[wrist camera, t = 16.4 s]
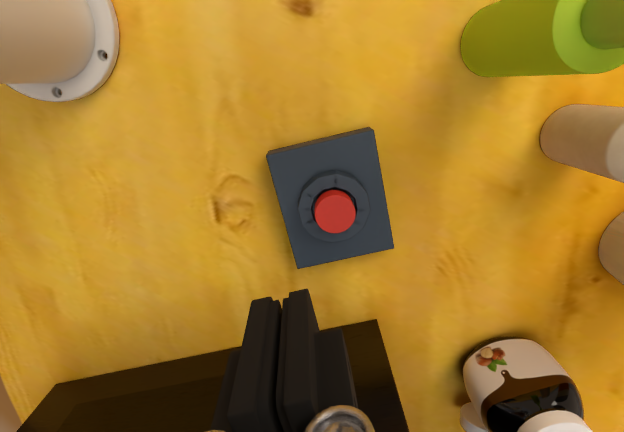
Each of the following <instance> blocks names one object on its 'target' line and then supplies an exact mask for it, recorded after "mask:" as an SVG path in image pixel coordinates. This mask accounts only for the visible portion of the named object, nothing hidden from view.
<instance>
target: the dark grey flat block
mask: <svg viewBox="0 0 624 432" xmlns="http://www.w3.org/2000/svg"><path fill="white" fill-rule="evenodd" d="M266 158H267V162H268V165H269V169H270V172H271V176H272V179H273V183H274V187H275V190H276V194H277V197H278V201H279V204H280V208H281V212H282V215H283V219H284V222H285V226H286V229H287V233H288V236H289V240H290V244H291V247H292V251H293V254H294V258H295V261H296V265H297V268H298V269H300V268H305V267H309V266H314V265H319V264H323V263H328V262H333V261H337V260H342V259H346V258H351V257H356V256H360V255H365V254H370V253H374V252H379V251H384V250H388V249H393V248H394V244H393V238H392V232H391V226H390V221H389V215H388V209H387V204H386V198H385V192H384V186H383V181H382V175H381V169H380V163H379V158H378V152H377V146H376V141H375V135H374V130H373V129H371V128H370V127H366V128H362V129H358V130H354V131H350V132H345V133H341V134H337V135H333V136H329V137H325V138H320V139H316V140H312V141H308V142H304V143H300V144H295V145H291V146H287V147H283V148H279V149H275V150H270V151H268V153H267V155H266ZM329 190H340V191H343V192H345V193H346V194H347V195H348V196H349V197H350V198H351V200H352V202H353V205H354V207H355V212H356V215H355V220H354V222H353V224H352V225H351V226H350V227H349V228H348V229H347V230H345V231H343V232H340V233H329V232H326V231H324V230H323V229H321V228H320V227H319V225H318V224H317V222H316V219H315V203H316V201H317V199H318V198H319V196H320V195H321V194H323V193H324V192H326V191H329Z"/></svg>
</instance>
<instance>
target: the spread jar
mask: <svg viewBox="0 0 624 432" xmlns="http://www.w3.org/2000/svg"><path fill="white" fill-rule="evenodd" d="M463 379H464V384H465V387H466V390H467V393H468V396H469V398H470V400H471V402H470V403H466V404H464V405H463V406H462V407H461V409H460V424H461V426H462V427H463V429H464V430H465V431H466V432H592V431H591V429H590V428H589V427H588V426H587V424H586V423H585V422H584V408H583V403H582V399H581V396H580V394H579V391H578V389H577V387H576V385H575V384H574V382H573V380H572V379H571V378H570V376H569V375H568V373H567V372H566V371H565V370H564V369H563V367H562V366H561V365H560V364H559V363H558V362H557V361H556V360H555V359H554V357H553V356H552V355H551V354H550V353H549V352H548V351H547V350H546V349H544V348H543V347H542V346H541V345H539V344H538V343H536V342H534V341H532V340H529V339H525V338H520V337H497V338H493V339H490V340H487V341H485V342H483V343H481V344H480V345H478V346H477V347H476V348H475V349H474V350H473V351H472V352H471V353H470V354H469V355H468V357H467V359H466V360H465V363H464V367H463Z"/></svg>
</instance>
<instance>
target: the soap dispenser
mask: <svg viewBox="0 0 624 432" xmlns="http://www.w3.org/2000/svg"><path fill="white" fill-rule="evenodd" d="M460 48H461V55H462V59H463V61H464V63H465V65H466V66H467V67H468V68H469V69H470V70H471V71H472V72H473V73H475V74H477V75H479V76H483V77H504V76H537V75H570V74H597V73H603V72H607V71H610V70H612V69H615V68H617V67H619V66H621V65H622V64H624V0H501V1H498V2H496V3H494V4H491V5H489V6H487V7H484V8H483V9H481V10H479V11H478V12H477V13H476V14H475V15H474V16H473V17H472V18H471V19H470V20H469V22H468V23H467V25H466V27H465V29H464V31H463V34H462V37H461V45H460Z"/></svg>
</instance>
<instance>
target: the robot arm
mask: <svg viewBox="0 0 624 432" xmlns="http://www.w3.org/2000/svg"><path fill="white" fill-rule="evenodd" d="M118 51H119V28H118V20H117V17H116V13H115V10H114V7H113V4H112V2H111V0H0V84H6V85H8V86H9V87H11V88H12V89H14V90H15V91H17V92H20V93H22V94H24V95H26V96H28V97H31V98H35V99H38V100H42V101H51V102H64V101H72V100H76V99H81V98H83V97H85V96H87V95H90V94H92V93H93V92H94V91H96V90H97V89H98V88H100V87H101V86H102V85H103V84H104V82H105V81H106V80H107V79H108V77H109V76H110V74H111V72H112V70H113V68H114V66H115V64H116V60H117V56H118ZM106 53H107V58H106V57H105V54H106ZM61 92H62V94H61ZM206 432H375V430H374V428H373V425H372V423H371V422H370V420H369V418H368V417H367V415H366V414H364V413H363V412H362V411H361V410H360V409H358V405H357V399H356V393H355V388H354V382H353V376H352V371H351V366H350V362H349V357H348V353H347V348H346V344H345V340H344V336H343V332H342V329H341V328H338V329H333V330H328V331H324V332H320V331H319V327H318V324H317V320H316V316H315V313H314V309H313V305H312V301H311V298H310V294H309V291H308V289H303V290H299V291H294V292H290V293H289V298H285V299H283V307H282V308H281V305H280V302H279V300H275V301H273V299H272V298H271V297H266V298H261V299H257V300H253V301H252V302H251V306H250V311H249V316H248V320H247V325H246V329H245V334H244V339H243V343H242V348H241V349H237V350H233V351H231V352H230V355H229V358H228V362H227V366H226V370H225V374H224V377H223V381H222V385H221V389H220V393H219V397H218V401H217V405H216V409H215V413H214V417H213V421H212V424H211V428H210V431H206Z"/></svg>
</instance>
